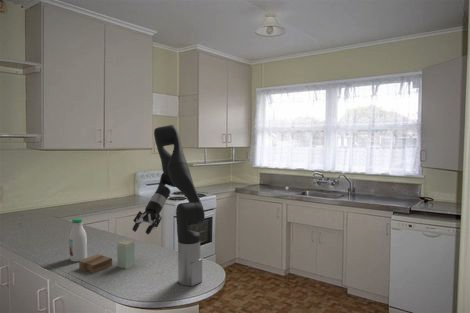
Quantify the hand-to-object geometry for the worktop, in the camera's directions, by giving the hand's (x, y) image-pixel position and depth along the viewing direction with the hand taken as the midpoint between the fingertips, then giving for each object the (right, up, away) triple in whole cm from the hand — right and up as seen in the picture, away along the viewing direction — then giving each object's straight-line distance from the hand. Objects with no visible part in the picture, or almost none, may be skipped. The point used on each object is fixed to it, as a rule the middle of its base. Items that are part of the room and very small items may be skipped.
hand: (140, 232), depth 171 cm
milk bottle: (-30, -14, +1) cm, 33 cm away
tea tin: (-5, -14, -7) cm, 16 cm away
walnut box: (-18, -15, -9) cm, 25 cm away
